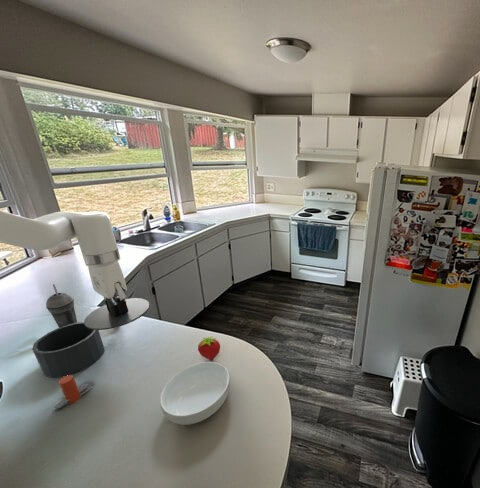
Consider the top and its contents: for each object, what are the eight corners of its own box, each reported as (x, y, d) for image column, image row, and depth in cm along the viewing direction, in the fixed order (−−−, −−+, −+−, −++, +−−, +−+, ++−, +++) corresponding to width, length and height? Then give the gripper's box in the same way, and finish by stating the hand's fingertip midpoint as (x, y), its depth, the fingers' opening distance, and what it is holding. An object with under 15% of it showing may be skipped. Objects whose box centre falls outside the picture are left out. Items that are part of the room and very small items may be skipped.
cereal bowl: (199, 447, 60) (194, 426, 57) (149, 421, 65) (143, 401, 63) (243, 388, 75) (242, 370, 72) (200, 371, 80) (197, 354, 78)
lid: (99, 339, 67) (93, 320, 64) (75, 320, 74) (69, 302, 72) (160, 310, 79) (156, 293, 77) (134, 296, 86) (130, 280, 84)
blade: (58, 413, 66) (48, 393, 63) (53, 407, 68) (43, 387, 65) (94, 391, 72) (86, 372, 70) (88, 386, 74) (81, 367, 71)
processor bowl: (53, 385, 74) (42, 360, 70) (36, 365, 80) (25, 341, 77) (112, 354, 86) (105, 331, 82) (93, 338, 92) (85, 316, 89)
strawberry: (213, 369, 81) (210, 345, 78) (195, 363, 83) (191, 338, 80) (226, 356, 86) (223, 333, 83) (208, 350, 89) (205, 327, 85)
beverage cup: (80, 320, 101) (64, 276, 95) (85, 328, 97) (69, 282, 91) (54, 330, 96) (36, 284, 89) (59, 338, 92) (40, 290, 85)
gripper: (72, 254, 71) (90, 309, 77) (99, 268, 63) (117, 328, 69) (104, 246, 77) (119, 298, 83) (132, 258, 69) (146, 314, 75)
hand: (118, 311), depth 76 cm, fingers closed on lid, 3 cm apart
